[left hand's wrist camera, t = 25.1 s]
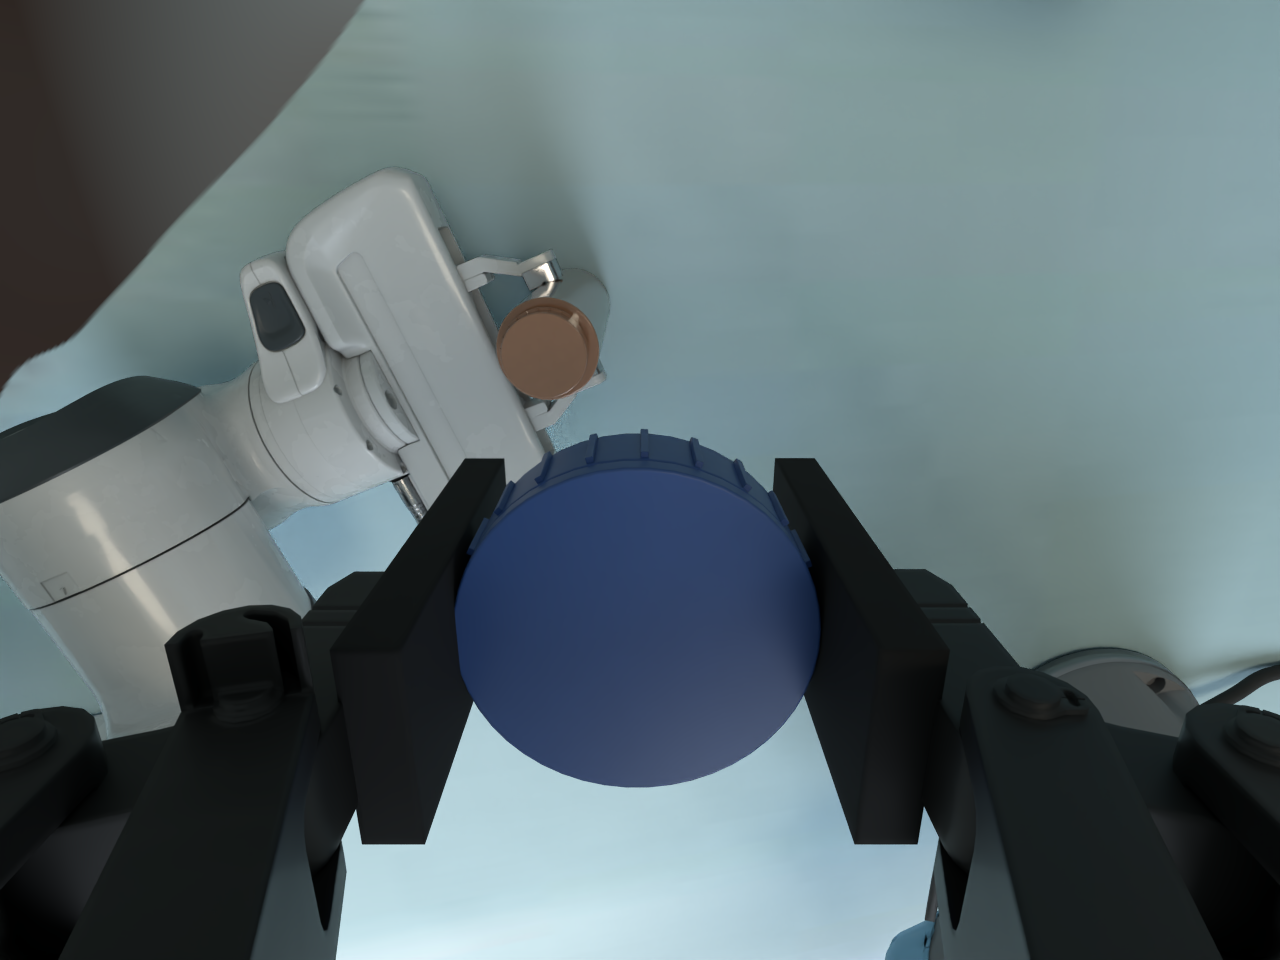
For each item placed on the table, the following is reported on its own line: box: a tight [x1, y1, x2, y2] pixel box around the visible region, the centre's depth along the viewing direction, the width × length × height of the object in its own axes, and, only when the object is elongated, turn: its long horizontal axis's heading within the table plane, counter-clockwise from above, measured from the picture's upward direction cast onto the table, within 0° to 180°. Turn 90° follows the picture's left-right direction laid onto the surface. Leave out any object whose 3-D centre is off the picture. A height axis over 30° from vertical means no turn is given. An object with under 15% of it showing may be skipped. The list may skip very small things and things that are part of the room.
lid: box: [454, 429, 821, 787], centre depth 11 cm, size 5×5×2 cm
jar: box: [496, 268, 610, 400], centre depth 38 cm, size 4×4×16 cm
